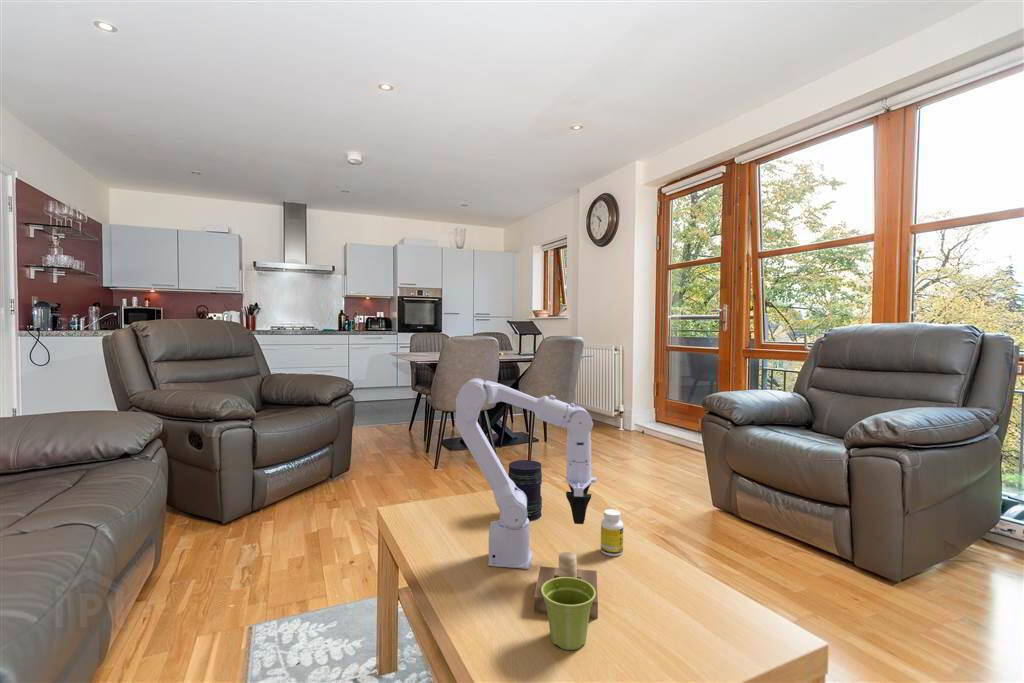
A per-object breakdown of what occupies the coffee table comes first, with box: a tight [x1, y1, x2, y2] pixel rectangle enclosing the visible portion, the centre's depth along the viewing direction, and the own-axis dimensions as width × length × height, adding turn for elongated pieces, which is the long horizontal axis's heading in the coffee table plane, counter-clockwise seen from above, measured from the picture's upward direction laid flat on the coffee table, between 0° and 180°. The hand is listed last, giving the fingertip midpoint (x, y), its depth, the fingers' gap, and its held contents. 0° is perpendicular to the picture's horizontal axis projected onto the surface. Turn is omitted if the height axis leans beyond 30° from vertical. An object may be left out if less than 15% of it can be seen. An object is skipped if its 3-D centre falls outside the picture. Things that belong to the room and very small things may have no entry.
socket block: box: [533, 565, 599, 619], centre depth 96 cm, size 12×12×3 cm
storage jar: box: [507, 459, 543, 522], centre depth 139 cm, size 10×10×15 cm
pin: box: [558, 551, 578, 578], centre depth 96 cm, size 4×4×8 cm
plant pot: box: [541, 577, 596, 651], centre depth 83 cm, size 9×9×9 cm
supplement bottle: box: [600, 508, 624, 557], centre depth 116 cm, size 5×5×10 cm
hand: (579, 516), depth 111 cm, fingers open, 7 cm apart
